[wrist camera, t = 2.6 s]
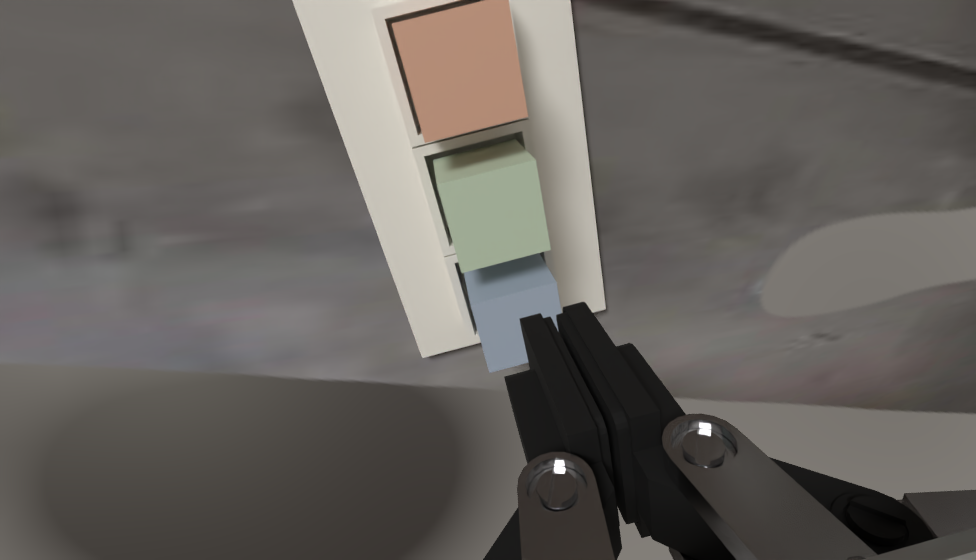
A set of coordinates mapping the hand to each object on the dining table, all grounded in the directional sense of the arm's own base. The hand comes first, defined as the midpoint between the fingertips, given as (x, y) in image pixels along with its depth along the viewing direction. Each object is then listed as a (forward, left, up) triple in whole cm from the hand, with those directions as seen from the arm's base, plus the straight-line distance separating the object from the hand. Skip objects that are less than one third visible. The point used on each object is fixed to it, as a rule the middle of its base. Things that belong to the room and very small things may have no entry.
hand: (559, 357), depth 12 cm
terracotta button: (0, -6, -16) cm, 17 cm away
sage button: (0, 0, -16) cm, 16 cm away
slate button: (0, +7, -16) cm, 18 cm away
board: (0, 0, -20) cm, 20 cm away
